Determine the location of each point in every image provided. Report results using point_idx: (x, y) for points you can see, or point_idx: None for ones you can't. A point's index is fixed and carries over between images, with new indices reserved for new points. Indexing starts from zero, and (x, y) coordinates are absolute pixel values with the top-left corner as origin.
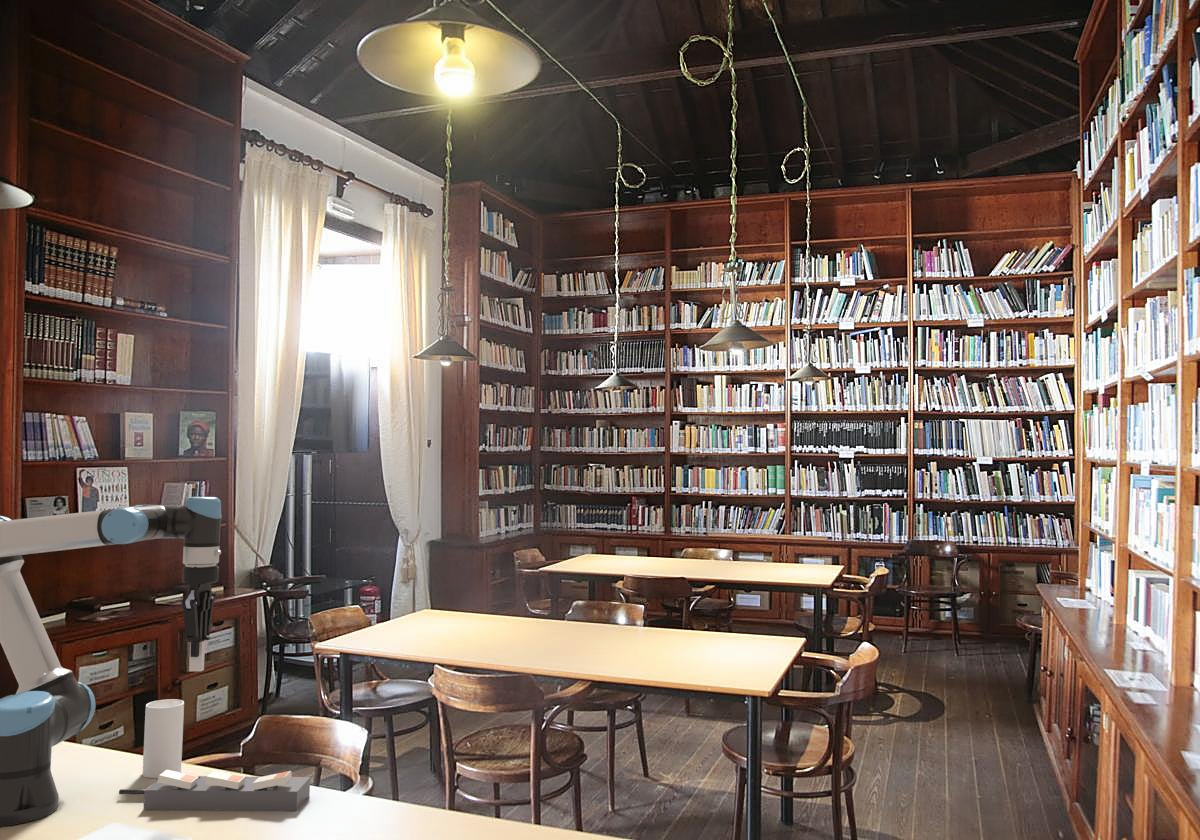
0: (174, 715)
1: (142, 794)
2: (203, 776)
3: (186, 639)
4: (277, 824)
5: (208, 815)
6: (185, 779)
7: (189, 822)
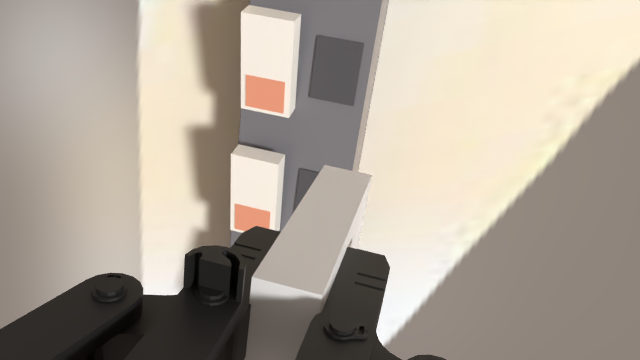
0: None
1: None
2: (359, 113)
3: (92, 286)
4: (170, 281)
5: (223, 141)
6: (248, 89)
7: (183, 106)
